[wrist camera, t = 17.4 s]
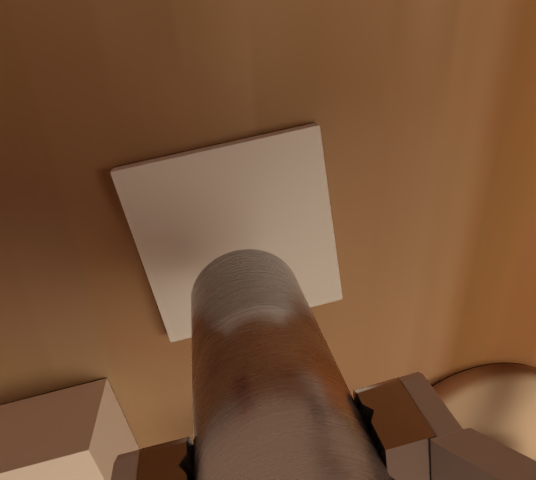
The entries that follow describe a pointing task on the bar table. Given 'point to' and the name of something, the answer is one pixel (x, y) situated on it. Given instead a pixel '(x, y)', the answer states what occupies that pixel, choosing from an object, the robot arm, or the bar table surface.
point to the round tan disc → (495, 403)
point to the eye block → (64, 435)
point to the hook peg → (269, 381)
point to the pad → (231, 215)
